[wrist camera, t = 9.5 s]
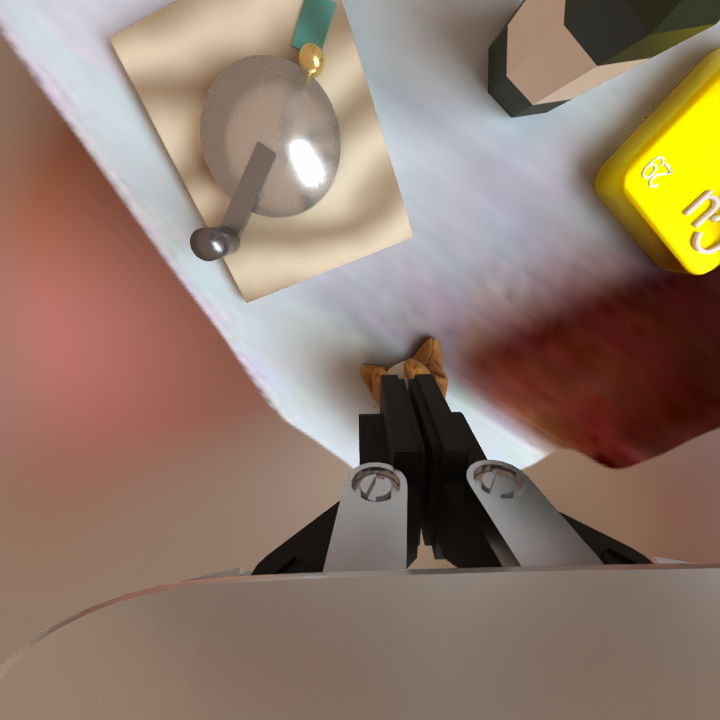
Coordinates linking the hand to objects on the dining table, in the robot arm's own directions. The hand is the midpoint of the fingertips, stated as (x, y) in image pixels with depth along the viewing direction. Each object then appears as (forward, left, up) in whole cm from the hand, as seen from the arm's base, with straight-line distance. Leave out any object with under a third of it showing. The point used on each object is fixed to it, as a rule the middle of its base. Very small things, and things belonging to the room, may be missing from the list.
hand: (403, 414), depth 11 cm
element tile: (+2, +34, -30) cm, 45 cm away
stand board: (-14, -4, -29) cm, 33 cm away
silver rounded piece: (-13, -5, -27) cm, 31 cm away
